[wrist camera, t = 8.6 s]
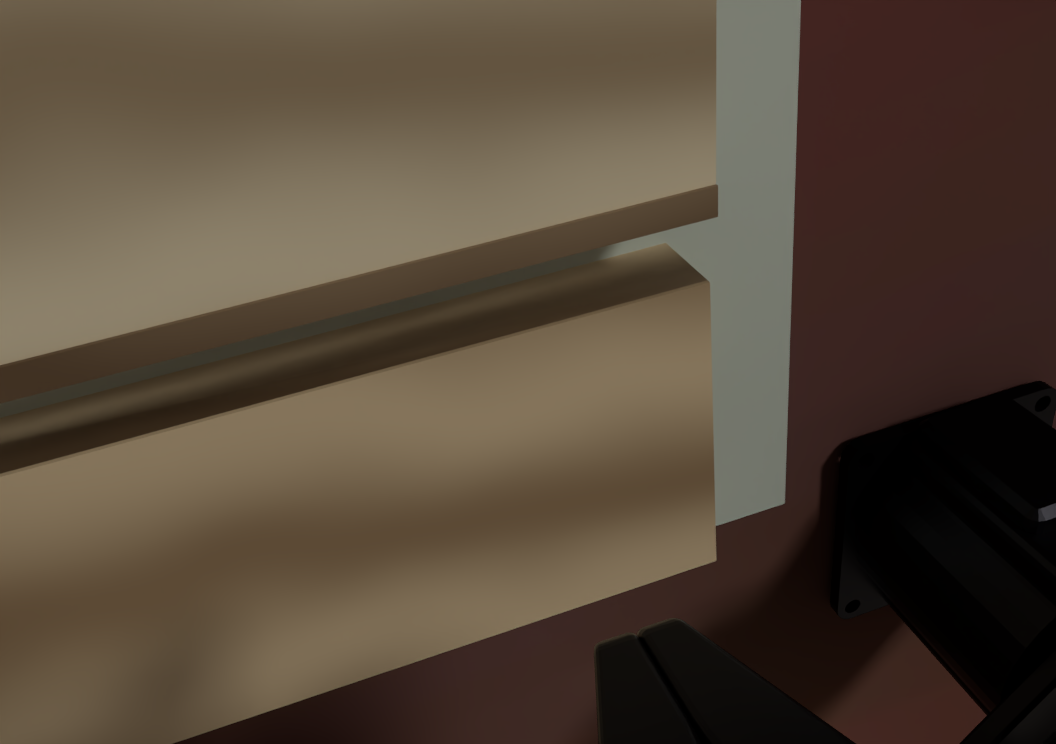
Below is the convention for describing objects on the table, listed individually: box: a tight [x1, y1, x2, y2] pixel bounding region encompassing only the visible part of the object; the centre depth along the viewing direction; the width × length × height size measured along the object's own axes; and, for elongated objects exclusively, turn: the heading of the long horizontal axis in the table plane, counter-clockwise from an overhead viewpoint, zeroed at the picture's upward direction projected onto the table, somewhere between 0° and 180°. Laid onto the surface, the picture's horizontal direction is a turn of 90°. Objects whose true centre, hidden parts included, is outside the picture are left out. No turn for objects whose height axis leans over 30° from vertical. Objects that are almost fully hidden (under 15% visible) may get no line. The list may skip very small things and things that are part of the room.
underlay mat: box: [0, 0, 801, 526], centre depth 16 cm, size 20×30×1 cm, turn 98°
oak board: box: [0, 243, 716, 744], centre depth 18 cm, size 7×24×2 cm, turn 98°
